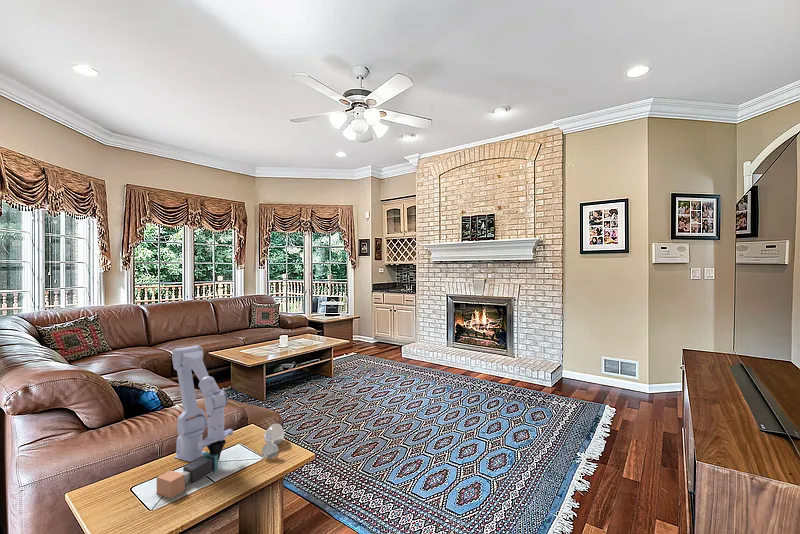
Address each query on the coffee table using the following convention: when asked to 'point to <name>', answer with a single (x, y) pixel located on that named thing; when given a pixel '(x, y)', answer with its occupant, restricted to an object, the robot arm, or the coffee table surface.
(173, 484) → the orange brown block
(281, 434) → the wineglass
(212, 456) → the grey and teal block
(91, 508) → the coffee table surface
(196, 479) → the dark grey rectangular bar
